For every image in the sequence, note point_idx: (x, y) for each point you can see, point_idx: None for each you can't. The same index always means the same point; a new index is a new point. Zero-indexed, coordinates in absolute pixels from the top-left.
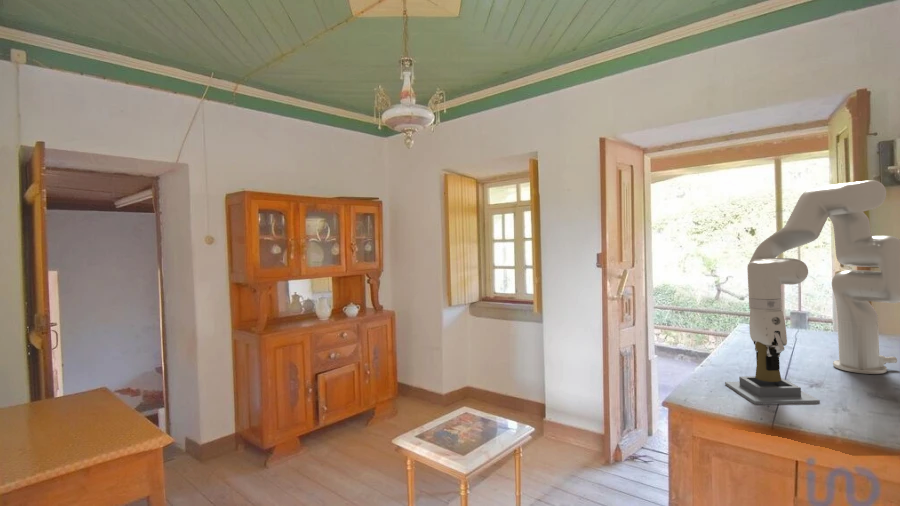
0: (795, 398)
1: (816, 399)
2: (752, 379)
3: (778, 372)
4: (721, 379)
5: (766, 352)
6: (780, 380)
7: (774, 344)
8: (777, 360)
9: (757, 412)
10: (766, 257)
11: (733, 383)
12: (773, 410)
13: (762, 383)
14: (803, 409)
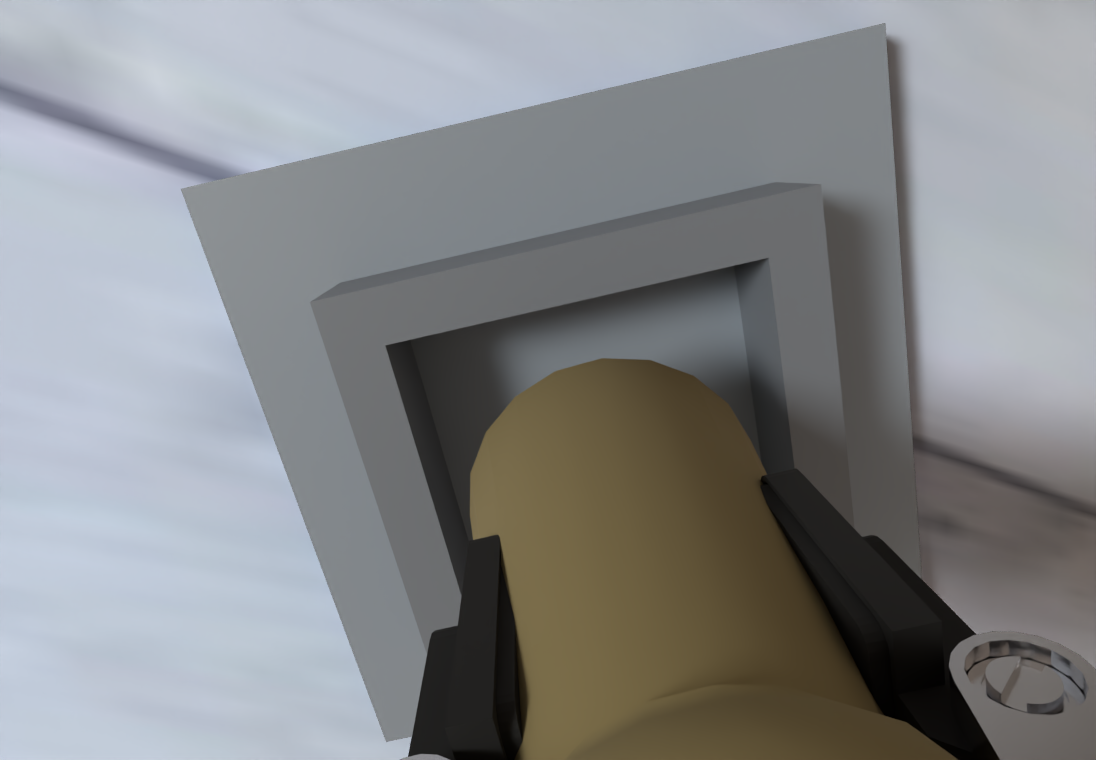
0: (836, 262)
1: (858, 49)
2: (462, 583)
3: (741, 450)
4: (221, 722)
5: None
6: (708, 388)
7: None
8: (952, 614)
9: (1082, 631)
10: None
11: (420, 685)
12: (1045, 512)
13: (438, 461)
14: (1032, 265)
